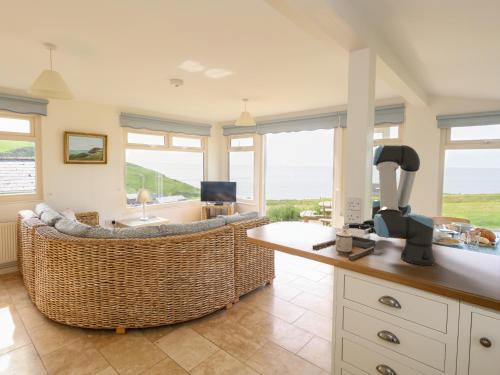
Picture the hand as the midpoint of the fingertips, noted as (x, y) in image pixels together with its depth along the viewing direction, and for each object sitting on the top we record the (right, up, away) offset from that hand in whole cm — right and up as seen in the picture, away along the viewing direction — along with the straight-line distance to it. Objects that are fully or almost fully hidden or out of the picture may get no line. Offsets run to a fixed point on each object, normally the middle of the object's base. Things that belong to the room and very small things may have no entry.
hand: (353, 230), depth 164 cm
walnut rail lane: (-8, -10, -6) cm, 14 cm away
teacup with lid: (-9, -11, -6) cm, 15 cm away
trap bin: (+6, -10, +7) cm, 13 cm away
